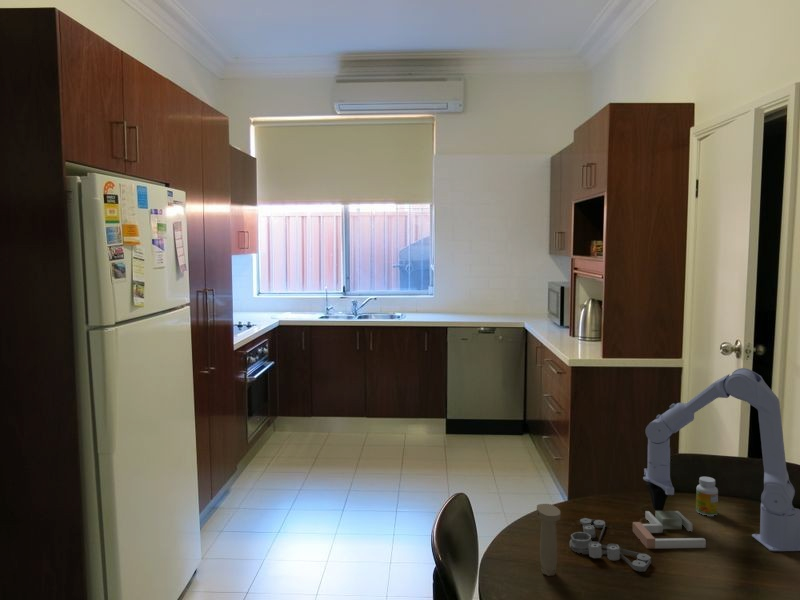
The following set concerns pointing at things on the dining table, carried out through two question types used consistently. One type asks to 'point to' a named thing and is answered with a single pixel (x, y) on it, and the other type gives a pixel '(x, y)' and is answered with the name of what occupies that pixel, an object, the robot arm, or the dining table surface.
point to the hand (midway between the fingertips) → (658, 509)
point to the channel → (673, 542)
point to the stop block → (643, 535)
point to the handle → (548, 537)
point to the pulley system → (603, 546)
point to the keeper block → (669, 519)
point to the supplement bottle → (707, 497)
